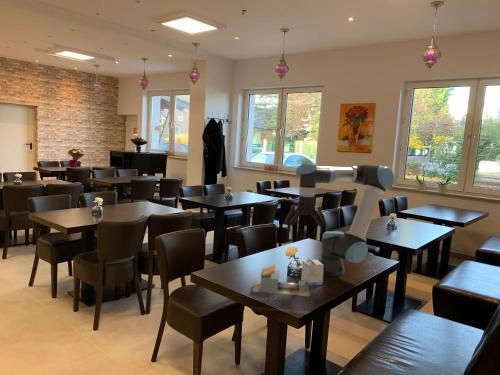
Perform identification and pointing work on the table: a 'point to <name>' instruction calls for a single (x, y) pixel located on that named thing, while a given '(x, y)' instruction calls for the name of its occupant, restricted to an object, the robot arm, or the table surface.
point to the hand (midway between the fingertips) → (304, 239)
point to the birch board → (281, 290)
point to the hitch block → (270, 283)
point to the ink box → (312, 272)
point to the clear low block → (293, 286)
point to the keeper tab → (268, 271)
